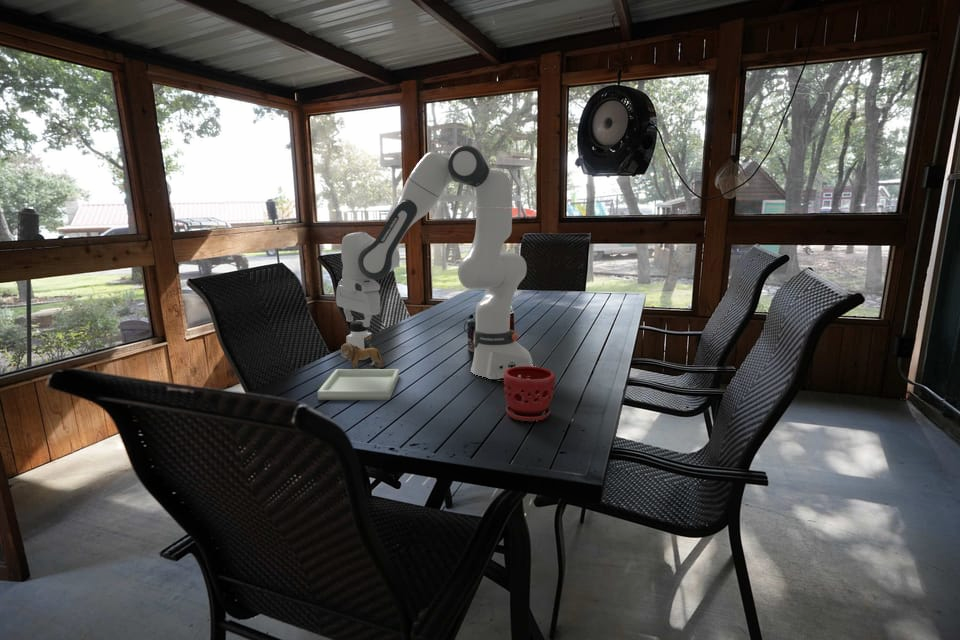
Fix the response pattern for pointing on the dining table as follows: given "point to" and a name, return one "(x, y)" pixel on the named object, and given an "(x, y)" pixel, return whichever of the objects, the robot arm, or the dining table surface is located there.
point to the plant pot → (528, 392)
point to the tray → (359, 384)
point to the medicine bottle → (359, 335)
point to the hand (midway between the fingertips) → (357, 323)
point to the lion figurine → (360, 354)
